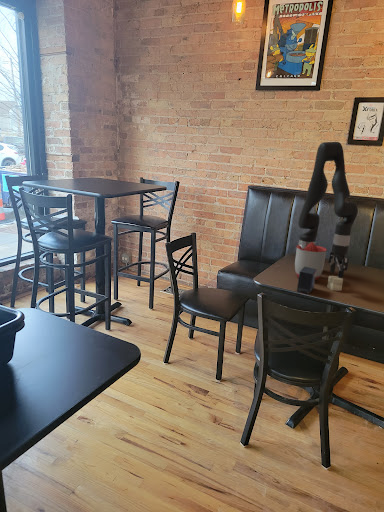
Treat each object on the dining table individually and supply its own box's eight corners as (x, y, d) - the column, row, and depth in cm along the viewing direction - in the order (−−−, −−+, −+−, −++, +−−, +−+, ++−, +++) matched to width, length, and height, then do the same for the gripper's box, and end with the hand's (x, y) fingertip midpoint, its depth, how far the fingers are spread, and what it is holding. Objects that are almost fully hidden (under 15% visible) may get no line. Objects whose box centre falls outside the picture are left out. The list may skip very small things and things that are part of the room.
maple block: (327, 287, 183) (328, 275, 181) (336, 287, 184) (338, 276, 182) (331, 290, 178) (333, 279, 177) (341, 290, 179) (343, 279, 177)
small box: (309, 294, 171) (312, 273, 168) (296, 291, 174) (298, 271, 172) (314, 288, 180) (317, 268, 177) (301, 285, 183) (304, 266, 180)
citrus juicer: (308, 271, 208) (313, 238, 203) (328, 281, 192) (334, 245, 187) (285, 273, 203) (289, 238, 198) (303, 283, 187) (308, 246, 182)
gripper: (326, 240, 181) (322, 271, 185) (340, 246, 167) (335, 279, 171) (341, 240, 182) (336, 271, 186) (356, 247, 168) (350, 279, 172)
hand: (336, 275), depth 179 cm, fingers open, 8 cm apart
